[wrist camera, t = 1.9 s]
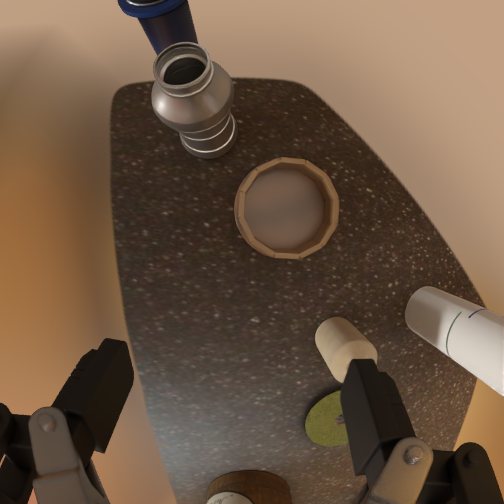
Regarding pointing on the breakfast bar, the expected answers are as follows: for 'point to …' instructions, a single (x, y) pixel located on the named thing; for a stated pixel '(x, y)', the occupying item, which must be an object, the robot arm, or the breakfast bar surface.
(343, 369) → the candle
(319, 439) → the mat
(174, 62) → the silver metal bottle
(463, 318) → the cylindrical container
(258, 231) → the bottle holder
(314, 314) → the breakfast bar surface
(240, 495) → the wooden container
